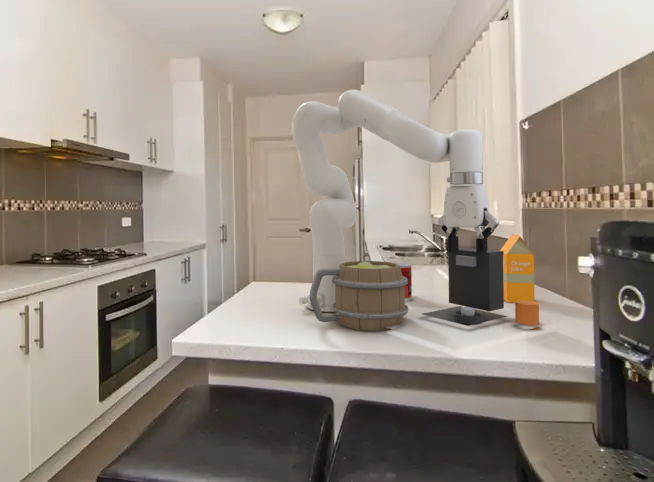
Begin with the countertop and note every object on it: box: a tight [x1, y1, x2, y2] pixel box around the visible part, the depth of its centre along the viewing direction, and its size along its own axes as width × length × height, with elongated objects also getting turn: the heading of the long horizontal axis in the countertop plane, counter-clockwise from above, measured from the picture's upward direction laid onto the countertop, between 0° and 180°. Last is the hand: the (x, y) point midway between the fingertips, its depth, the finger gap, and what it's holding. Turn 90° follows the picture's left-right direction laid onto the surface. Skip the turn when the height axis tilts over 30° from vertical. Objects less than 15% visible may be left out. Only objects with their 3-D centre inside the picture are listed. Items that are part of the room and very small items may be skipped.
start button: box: [461, 306, 476, 316], centre depth 110 cm, size 3×3×2 cm
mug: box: [308, 260, 409, 332], centre depth 113 cm, size 19×25×15 cm
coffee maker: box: [447, 247, 505, 312], centre depth 119 cm, size 8×12×15 cm, turn 32°
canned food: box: [394, 262, 413, 299], centre depth 142 cm, size 8×8×11 cm
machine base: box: [422, 305, 508, 327], centre depth 116 cm, size 16×14×3 cm
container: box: [514, 300, 540, 331], centre depth 108 cm, size 5×5×6 cm
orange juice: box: [499, 233, 536, 304], centre depth 139 cm, size 8×9×20 cm
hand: (467, 253), depth 110 cm, fingers open, 7 cm apart
